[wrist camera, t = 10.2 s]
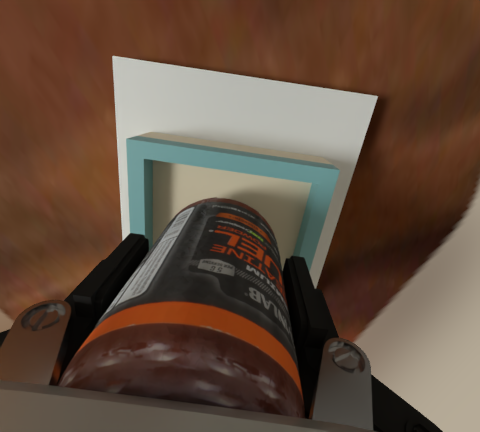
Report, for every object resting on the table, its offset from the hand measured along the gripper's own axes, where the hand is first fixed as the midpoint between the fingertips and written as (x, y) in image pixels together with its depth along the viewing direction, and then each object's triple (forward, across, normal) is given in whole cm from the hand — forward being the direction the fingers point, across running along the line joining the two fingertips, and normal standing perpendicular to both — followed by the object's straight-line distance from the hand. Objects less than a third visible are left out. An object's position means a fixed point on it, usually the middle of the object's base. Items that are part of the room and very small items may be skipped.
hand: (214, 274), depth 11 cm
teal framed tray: (+7, 0, 0) cm, 7 cm away
